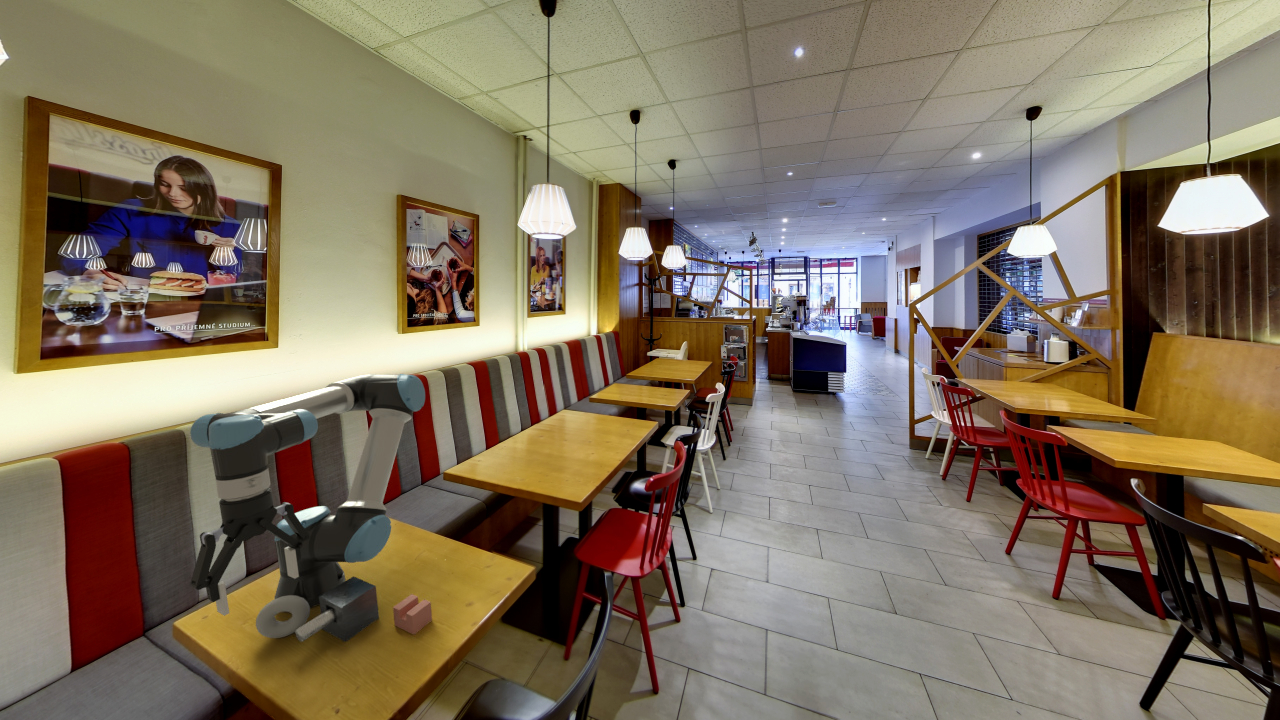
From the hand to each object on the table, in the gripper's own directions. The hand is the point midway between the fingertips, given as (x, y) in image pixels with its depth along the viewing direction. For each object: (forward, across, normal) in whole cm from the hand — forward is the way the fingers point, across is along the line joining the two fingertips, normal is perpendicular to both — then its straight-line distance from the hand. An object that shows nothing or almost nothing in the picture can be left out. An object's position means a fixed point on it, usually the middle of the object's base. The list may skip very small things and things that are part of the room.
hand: (260, 593), depth 83 cm
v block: (+20, +22, -14) cm, 33 cm away
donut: (+20, +8, +11) cm, 24 cm away
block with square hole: (+20, +16, 0) cm, 26 cm away
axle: (+14, +12, 0) cm, 19 cm away
